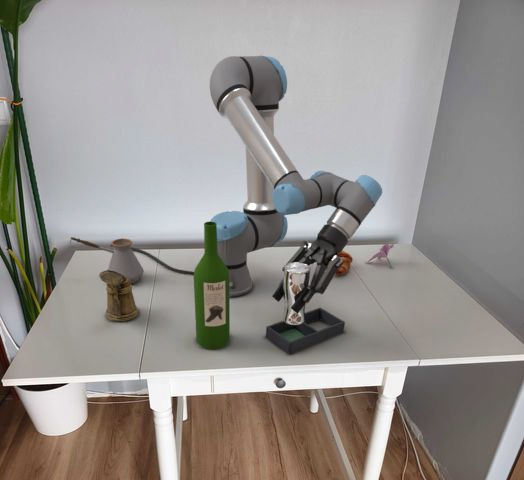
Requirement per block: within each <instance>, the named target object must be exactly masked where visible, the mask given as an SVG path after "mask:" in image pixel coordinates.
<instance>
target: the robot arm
mask: <svg viewBox="0 0 524 480" xmlns="http://www.w3.org/2000/svg"><path fill="white" fill-rule="evenodd" d="M287 90H288V79H287V74H286V70H285V69H284V66H283V65H282V64H281V62H280V61H279V60H278V59H277V58H275V57H273V56H268V55H267V56H266V55H250V56H248V55H247V56H246V55H244V56H243V55H241V56H237V55H232V56H231V55H230V56H227V57H224V58H222V59H221V60H220V61H218V63H217V64H216V65H215V66H214V68H213V70H212V72H211V75H210V78H209V92H210V93H209V94H210V97H211V100H212V103H213V105H214V107H215V109H216V110H217V112H218V113H219V115H220V116H221V117H222V118H223V119H227V120H228V122H229V123H230V125H231V127H232V128H233V129H234V131H235V132H236V135H238V137H239V138H240V140H241V141H242V143H243V145H244V146H245V167H246V191H247V201H246V202H245V203H244V204H243V206H242V211H239V210H231V211H229V210H227V211H223V212H219V213H217V214H215V215H214V216H213V217H212V218H211V219H210V220H209V222H215V223H217V252H218V255H219V256H220V258H221V259H222V261H223V262H224V264H225V265H226V267H227V268H228V271H229V298H236V297H241V296H244V295H246V294H248V293H249V292H250V291H252V288H253V280H252V277H251V275H250V271H249V268H248V253H252V252H255V251H259V250H263V249H266V248H272V247H274V246H275V245H277V244H279V243H281V242H282V241H283V240H284V239H285V237H286V236H287V232H288V226H289V225H288V219H287V216H290V215H298V214H300V213H302V212H306V211H310V210H313V209H314V210H315V209H319V208H323V207H326V206H331V207H333V208H335V209H334V211H333V212H332V213H331V215H330V217H328V219H327V220H326V224H324V225H323V226H322V227H321V229H320V230H319V232H318V233H317V237H316V239H315V240H314V241H313V242H312V243H310V242H308V241H307V240H303V241H302V243H301V245H300V246H299V248H298V249H297V251H296V252H295V253H294V254H293V255H292V257H291V258H290V259H289V260H288V261H287V263H286V264H288V263H293V262H299V263H305V264H307V265H309V266H311V265H314V264H315V263H316V267H315V269H314V272H313V274H312V278H311V280H310V285H309V286H308V288H309V289H308V288H307V287H306V288H305V289H304V290H303V292H302V293H301V294H300V296H299V297H298V299H297V300H296V301H295V303H294V304H293V305H292V307H291V309H292V310H294V311H295V312H296V313H297V314H298V313H299V312H300V310H301V309H302V307H303V306H304V305H305V306H306V304H308V303H309V302H310V301H311V299H312V298H313V297H314V295H316V294H320V295H323V294H324V293H325V291H326V290H327V289H328V287H329V285H330V283H331V282H332V280H333V278H334V276H335V275H336V274H335V273H336V271H337V270H338V269H339V268H340V267H341V266H342V265H343V263H344V262H343V261H342V260H341V258H340V257H339V256H338V252H341V251H344V249H345V247H346V246H347V244H348V243H349V240H350V239H352V237H353V236H354V235H355V233H356V232H357V231H358V229H359V228H360V226H361V225H362V223H363V222H364V220H365V219H366V217H368V215H369V214H370V213H371V211H372V209H373V208H375V207H376V204H377V203H378V201H379V200H380V198H381V197H382V195H383V187H382V186H381V184H380V183H379V182H378V181H377V180H376V179H375V178H374V177H372V176H370V175H367V174H361V175H360V176H358V178H356V179H355V181H353V180H350V179H346V178H344V177H341V176H339V175H336V174H334V173H332V172H329V171H325V170H318V171H316V172H315V173H314V174H312V175H311V176H310V178H307V179H304V177H303V176H302V175H301V174H300V172H299V171H298V169H297V167H296V166H295V165H294V163H293V162H292V160H291V159H290V157H289V156H288V154H287V152H286V151H285V150H284V148H283V147H282V145H281V144H280V142H279V141H278V139H277V138H276V136H275V121H274V120H275V119H274V117H275V115H276V113H278V111H280V102H281V101H282V100H284V98H285V94H286V93H287ZM110 247H113V246H112V245H111V244H110ZM131 249H132V251H135V252H138V253H141V254H143V255H146V256H148V257H149V258H151V259H153V260H154V261H156V262H157V263H159V265H162V266H163V267H165V268H167V269H168V270H171V271H173V272H177V273H181V274H189V275H194V271H192V270H184V269H179V268H175V267H173V266H171V265H168V264H167V263H165V262H163V261H162V260H160V259H159V258H158V257H156V256H154V255H153V254H151V253H149V252H148V251H145V250H142V249H139V248H136V247H132V246H131ZM330 261H332V262H331V263H330V264H329V262H330ZM328 265H329V266H328ZM284 269H285V265H284V266H283V267H282V268H281V270H282V272H283V273H284ZM271 297H272V298H273V299H274V300H276V302H278V303H280V302H281V300H282V299H283V298H284V294H283V278H282V279H281V280H280V281H279V283H278V287H277V288H276V289H275V292H273V294H272V295H271ZM305 303H306V304H305Z"/></svg>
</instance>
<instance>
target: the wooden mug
mask: <svg viewBox="0 0 524 480" xmlns="http://www.w3.org/2000/svg"><path fill="white" fill-rule="evenodd" d="M98 277H99V278H100V280H101V281H102V282H103V283H104V284H106V285H105V289H106V310H105V311H106V318H107V319H108V320H109V321H111V322H112V321H113V322H121V323H123V322H128V321H132V320H134V319H135V318H137V317H138V315H139V312H138V307H137V305H136V301H135V298H134V294H133V286H132V283H131V282H130V281H129V278H128V277H127V276H124V275H121V274H120V273H117V272H115V271H110V270H108V269H107V270H103V271H101V272H99V274H98Z"/></svg>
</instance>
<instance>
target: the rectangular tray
mask: <svg viewBox="0 0 524 480" xmlns="http://www.w3.org/2000/svg"><path fill="white" fill-rule="evenodd" d="M318 320H320V321H322V322H323V323H324V324H326V325H327V327H325V328H323V329H319V330H317V329H316V328H314V327H313V326H311V325H309V324H310V323H312V322H314V321H315V322H316V321H318ZM345 324H346V321H344V320H342V319H341V318H339V317H337V316H335V315H334V314H332V313H331V312H329V311H327V310H325V309H324V308H322V307H318V308H317V307H316V308H315V309H311V310H309V311H306V312H305V322H304V323H303V324H300V325H290V324H287V323H285V322H284V321H283V320H281V321H278V322H276V323H272V324H269V325H267V326H265V328H266V329H265V338H266V339H267V340H269V341H270V342H271V343H272V344H273V345H275V346H277V347H278V348H280V349H281V350H283V351H284V352H285V353H287V354H288V355H291V354H295V353H297V352H299V351H302V350H304V349H306V348H310V347H311V346H314V345H317V344H319V343H321V342H325V341H326V340H328V339H332V338H334V337H336V336H339V335H341V334H344V331H345Z"/></svg>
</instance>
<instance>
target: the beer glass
mask: <svg viewBox="0 0 524 480" xmlns="http://www.w3.org/2000/svg"><path fill="white" fill-rule="evenodd" d="M284 266H285V269H284V272H283V277H282V279H283V294H284V296H283V301H284V302H283V303H284V309H283V314H282V321H284V322H285V323H287V324H290V325H300V324H303V323H304V322H305V313H306V312H305V310H306V304H307V303H305V305H304V306H303V307H302V309H301V310H300V312H299V313H298V314H297V313H296V312H295V311H294V310H292V309H291V307H292V305H293V304H294V303H295V301H296V300H297V299H298V297H299V296H300V294H301V293H302V292H303V290H304V289H305V288H306V287H307V288H308V286H309V285H310V283H311V281H312V278H311V276H312V275H311V273H312V272H311V269H312V268H311V265H307V264H305V263H299V262H293V263H288V264H287V263H286V264H284ZM308 289H309V288H308Z"/></svg>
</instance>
